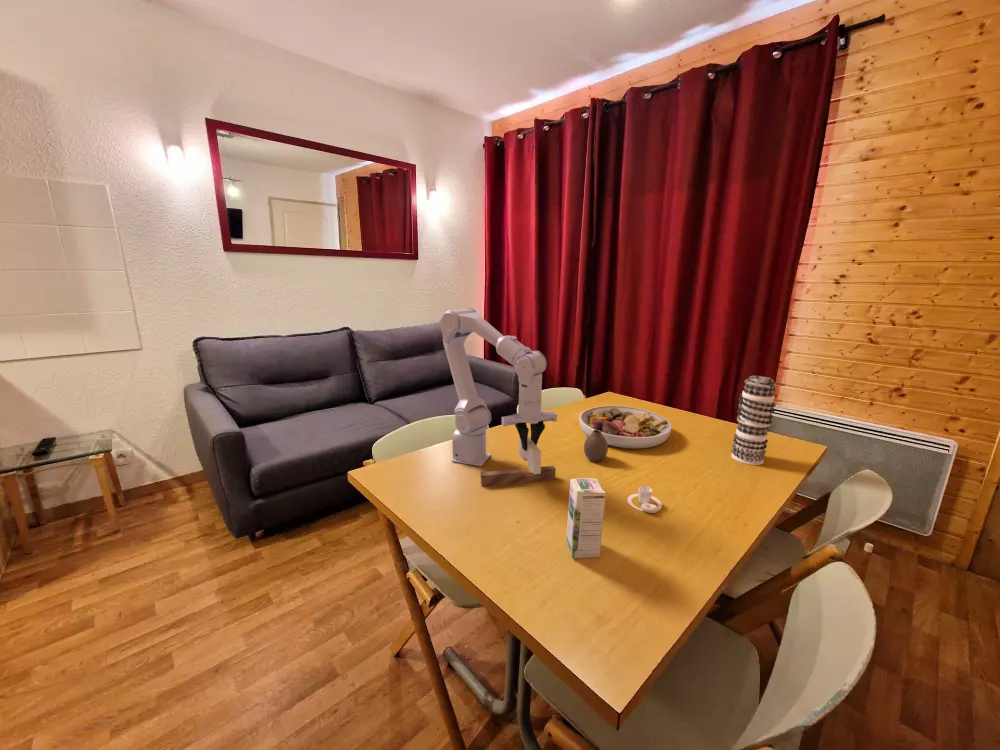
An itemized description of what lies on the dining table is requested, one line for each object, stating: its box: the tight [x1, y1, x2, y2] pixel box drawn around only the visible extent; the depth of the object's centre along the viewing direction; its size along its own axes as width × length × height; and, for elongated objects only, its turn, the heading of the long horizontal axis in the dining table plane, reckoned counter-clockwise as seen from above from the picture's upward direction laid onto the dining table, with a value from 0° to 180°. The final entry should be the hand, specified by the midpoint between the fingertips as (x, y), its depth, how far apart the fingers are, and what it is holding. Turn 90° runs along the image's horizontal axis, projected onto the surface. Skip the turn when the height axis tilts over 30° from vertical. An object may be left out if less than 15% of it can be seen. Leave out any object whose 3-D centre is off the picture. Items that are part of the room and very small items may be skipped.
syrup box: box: [565, 477, 607, 559], centre depth 82 cm, size 6×6×14 cm
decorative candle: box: [730, 375, 778, 466], centre depth 120 cm, size 9×9×25 cm
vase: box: [583, 430, 609, 463], centre depth 121 cm, size 7×7×9 cm
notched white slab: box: [518, 435, 542, 474], centre depth 108 cm, size 12×2×6 cm, turn 16°
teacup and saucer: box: [626, 485, 663, 514], centre depth 99 cm, size 9×8×4 cm
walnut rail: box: [480, 465, 557, 487], centre depth 109 cm, size 20×2×3 cm, turn 101°
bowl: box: [578, 405, 672, 450], centre depth 141 cm, size 30×30×8 cm
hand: (528, 448), depth 108 cm, fingers closed on notched white slab, 2 cm apart
